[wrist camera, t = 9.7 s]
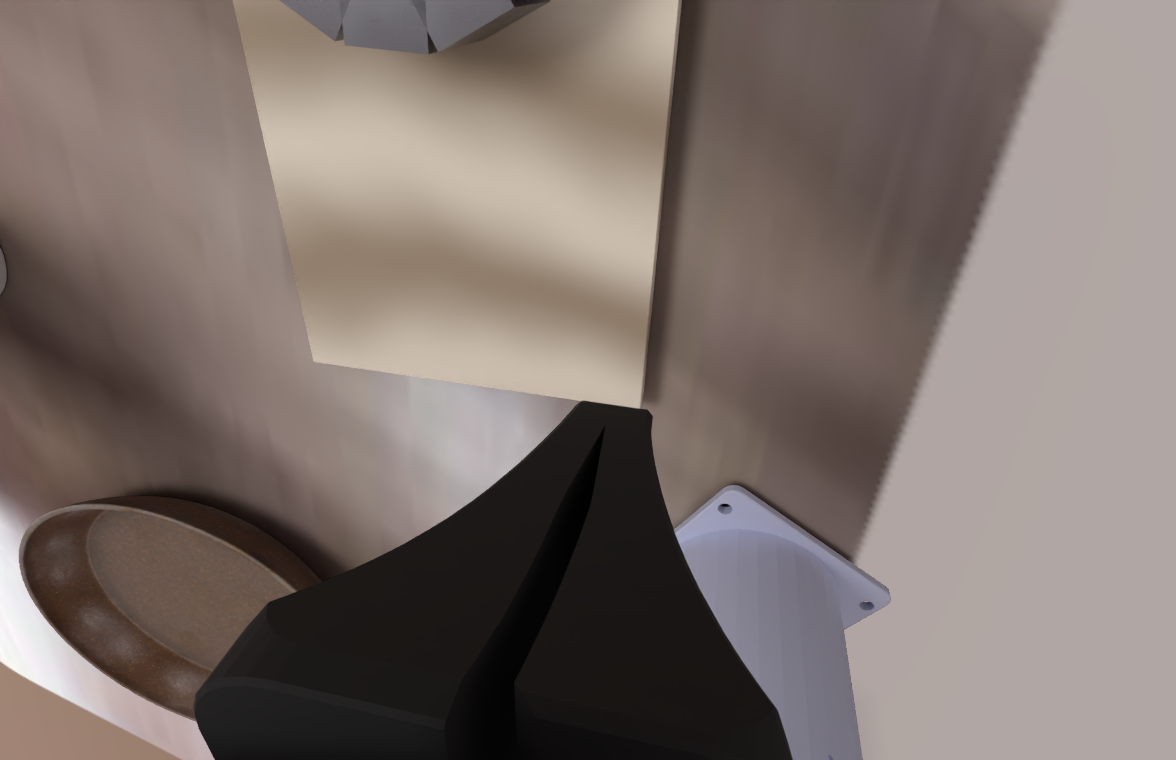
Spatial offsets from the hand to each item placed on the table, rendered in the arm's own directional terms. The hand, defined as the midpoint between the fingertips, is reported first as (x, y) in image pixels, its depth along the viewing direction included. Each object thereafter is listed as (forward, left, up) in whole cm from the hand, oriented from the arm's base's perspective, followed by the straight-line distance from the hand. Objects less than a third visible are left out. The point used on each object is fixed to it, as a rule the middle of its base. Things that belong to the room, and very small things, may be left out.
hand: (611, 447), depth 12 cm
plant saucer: (-30, +7, -10) cm, 32 cm away
